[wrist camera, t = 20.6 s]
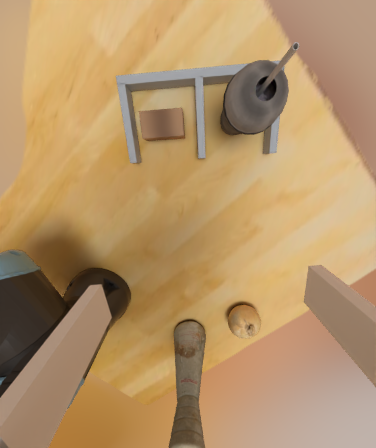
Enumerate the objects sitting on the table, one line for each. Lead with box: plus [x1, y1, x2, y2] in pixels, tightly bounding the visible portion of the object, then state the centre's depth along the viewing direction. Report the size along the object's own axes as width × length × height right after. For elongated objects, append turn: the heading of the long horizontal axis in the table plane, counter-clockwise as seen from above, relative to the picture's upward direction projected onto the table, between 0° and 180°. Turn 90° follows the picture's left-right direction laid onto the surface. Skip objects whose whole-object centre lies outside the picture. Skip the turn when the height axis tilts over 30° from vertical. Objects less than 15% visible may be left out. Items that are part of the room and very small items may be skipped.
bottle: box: [169, 321, 206, 448], centre depth 37 cm, size 9×9×28 cm
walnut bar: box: [139, 108, 185, 141], centre depth 31 cm, size 7×4×4 cm, turn 94°
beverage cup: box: [220, 42, 299, 135], centre depth 23 cm, size 7×7×20 cm
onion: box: [228, 305, 261, 339], centre depth 44 cm, size 8×8×7 cm
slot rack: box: [116, 61, 284, 163], centre depth 31 cm, size 26×13×3 cm, turn 94°
